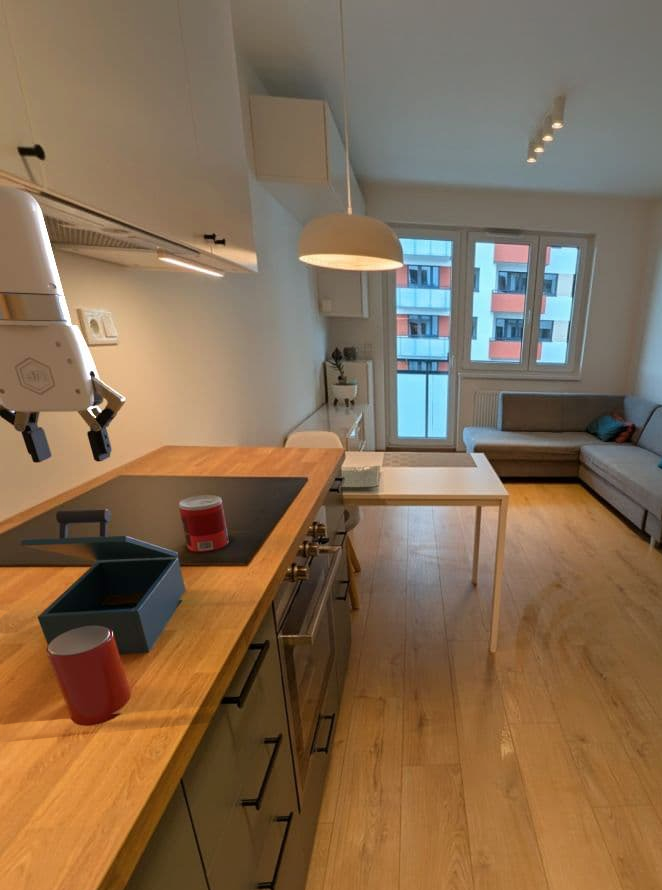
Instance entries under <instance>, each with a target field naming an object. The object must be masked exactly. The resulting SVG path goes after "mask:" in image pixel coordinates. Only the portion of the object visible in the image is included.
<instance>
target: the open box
mask: <svg viewBox="0 0 662 890" xmlns="http://www.w3.org/2000/svg"><path fill="white" fill-rule="evenodd" d="M185 592H186V586H185V581H184V577H183V573H182V568H181V565H180V559H179V557H168V558H145V559H123V560H100V561H95V563H93V564H92V565H91V566H90V567H89V568H88V569H87V570H86V571H85V572H84V573H82V575H81V576H80V577H78V579H76V581H74V582H73V583H72V584H71V585H70V586H69V587H68V588H66V590H64V591H63V592H62V593H61V594H60V595H59V596H58V597H57V598H55V600H54V601H53V602H52V603H50V604H49V605H48V606H47V607H46V608H45V609H44V610H43V611H42V612H41V613H39V615H37V620H38V623H39V625H40V627H41V631H42V633H43V636H44V639H45V641H46V643H47V646H48V645H49V644H50V643H51V642H52V641H53V640H54V639H55V638H56V637H58V636H59V635H61V634H63V633H65V632H68V631H70V630H73V629H76V628H80V627H85V626H103V627H107V628H109V629H111V630H112V632H113V635H114V638H115V641H116V645H117V648H118V651H119V654H120V656H121V655H134V654H135V655H137V654H148V653H150V652H151V650H152V649H153V647H154V646H155V645H156V643H157V641H158V639H159V638H160V636H161V635H162V633H163V631H164V630H165V629H166V627H167V625H168V623H169V622H170V620H171V618H172V617H173V616H174V614H175V613H176V610H177V609H178V607H179V606H180V604H181V603H182V599H181V598H182V596H183V595H184V594H185ZM138 595H143V596H142V598H141V599H140V600H139V602H127V603H111V604H109V603H108V604H105V603H106V602H107V601H108V599H110V598H111V597H118V596H120V597H122V596H138Z"/></svg>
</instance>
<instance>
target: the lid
mask: <svg viewBox="0 0 662 890" xmlns="http://www.w3.org/2000/svg"><path fill="white" fill-rule="evenodd" d="M55 519H56V522H57V523H58V524H59V531H58V532H59V533H58V534H59V535H58V537H57V538H54V537H53V538H32V539H31V538H30V539H28V538H27V539H20V546H21V547H26V548H31V549H36V550H41V551H45V552H50V553H56V554H61V555H66V556H72V557H76V558H81V559H87V560H91V561H95V562H97V561H107V560H129V559H152V558H176V557H178V556H179V555H178V554H179V553H178V552H177V551H174V550H171V549H169V548H168V549H167V548H164V547H162V546H158V545H155V544H152V543H150V542H147V541H142V540H139V539H136V538H133V537H130V536H128V535H112V536H108V532H109V531H108V526H109V522H111V520H112V514H111V511H110V510H109V509H108V508H102V509H101V508H99V509H69V510H68V509H67V510H66V509H65V510H64V509H63V510H57V512H56V514H55ZM93 523H94V524H96V523H97V524H98V523H99V536H85V537H84V536H82V537H68V536H69V535H68V531H69V527H68V526H69V524H70V525H71V524H93ZM178 558H179V557H178Z"/></svg>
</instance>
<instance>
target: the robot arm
mask: <svg viewBox="0 0 662 890" xmlns="http://www.w3.org/2000/svg"><path fill="white" fill-rule="evenodd" d="M59 275H60V274H59V272H58V268H57V265H56V261H55V257H54V253H53V250H52V246H51V241H50V238H49V234H48V231H47V227H46V223H45V220H44V215H43V212H42V209H41V207H40V204H39V202H38V201H37V199H35V198H34V196H32V194H30V193H28V192H26V191H25V190H22V189H19V188H16V187H12V186H8V185H3V184H0V417H1V418H2V419H3V420H5V421H6V422H7V423H9V424H10V425H12V426H13V428H14V429H15V430H16V431H17V432H20V433H21V436H22V439H23V442H24V444H25V445H24V446H25V448H26V451H27V453H28V454H29V455H30V457H31V459H32V463H42V462H43V461H45V460H48V459H50V458H52V451H51V449H50V445H49V442H48V439H47V435H46V433H45V430H44V429H43V427H42V426H38V422H39V417H40V413H53V412H54V413H55V412H56V413H61V412H63V413H65V412H69V413H71V412H74V413H75V412H77V414H78V415H79V416H80V417H81V418H82V419H83V421H84V423H86V424H87V426H88V427H89V429H90V430H88V431H87V433H86V434H87V435H86V436H87V438H88V439H87V440H88V442H89V445H90V450H91V453H92V456H93V460H94V461H95V462H100V463H101V462H103V461H105V460H107V459H108V458H110V457H111V453H112V450H113V449H112V445H111V441H110V438H109V433H108V430H107V429H108V427H109V426H110V424H111V423H112V421H113V420H114V419H115V418H116V417H117V415H118V412H120V410H121V409H122V407H123V406H124V405H125V403H126V398H125V397H124V396H123V395H121V394H120V393H118V392H117V390H115V389H113V388H111V387H110V386H109V385H107V384H106V383H104V382H103V381H102V380H100V377H99V374H98V371H97V368H96V365H95V363H94V359H93V357H92V355H91V352H90V350H89V349H90V348H89V347H88V345H87V343H86V341H85V338H84V337H83V334H82V332H81V330H80V329H79V327H78V325H77V324H72V321H71V317H70V314H69V310H68V306H67V302H66V298H65V296H64V291H63V287H62V283H61V279H60V276H59ZM104 399H105V400H106V405H105V407H104V408H103V409H102V410H101V409H100V407H99V406H100V405H101V404H103V403H104Z"/></svg>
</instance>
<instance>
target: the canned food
mask: <svg viewBox="0 0 662 890" xmlns="http://www.w3.org/2000/svg"><path fill="white" fill-rule="evenodd" d="M178 508H179V514H180V519H181V523H182V527H183V532H184V537H185V543H186V545H187V549H188V550H190V551H192V552H201V553H202V552H211V551H216V550H219V549H222V548H223V547H225V546H227V545H228V544H229V542H230V541H229V534H228V529H227V523H226V516H225V511H224V504H223V500H222V497H220V496H218V495H214V494H213V495H212V494H204V495H203V494H201V495H194V496H189V497H187V498H184V499H181V500H180V501H179V502H178Z"/></svg>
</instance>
